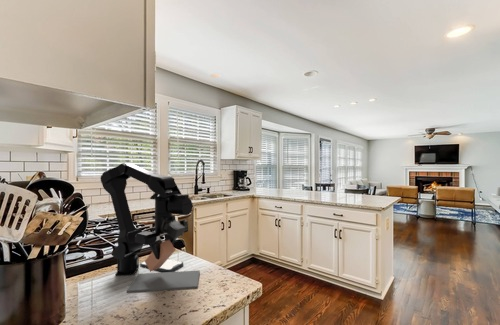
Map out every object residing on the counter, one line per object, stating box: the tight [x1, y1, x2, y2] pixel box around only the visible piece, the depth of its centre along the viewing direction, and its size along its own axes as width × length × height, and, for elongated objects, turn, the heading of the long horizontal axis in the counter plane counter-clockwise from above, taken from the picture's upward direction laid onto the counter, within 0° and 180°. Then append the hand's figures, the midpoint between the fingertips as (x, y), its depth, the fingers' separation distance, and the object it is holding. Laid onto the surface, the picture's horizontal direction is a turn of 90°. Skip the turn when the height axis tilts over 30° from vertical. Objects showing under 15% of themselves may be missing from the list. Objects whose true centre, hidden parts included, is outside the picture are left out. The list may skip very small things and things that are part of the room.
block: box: [144, 240, 176, 273], centre depth 88 cm, size 4×4×11 cm
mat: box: [126, 270, 200, 293], centre depth 87 cm, size 22×12×1 cm, turn 98°
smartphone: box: [139, 258, 184, 273], centre depth 100 cm, size 9×2×16 cm
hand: (163, 257), depth 87 cm, fingers closed on block, 4 cm apart
